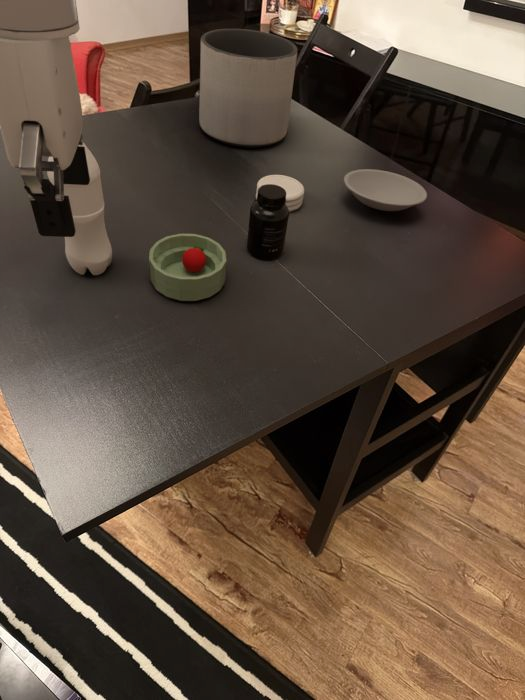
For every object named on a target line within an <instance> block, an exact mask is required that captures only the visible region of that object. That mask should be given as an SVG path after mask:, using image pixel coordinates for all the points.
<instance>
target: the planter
mask: <svg viewBox="0 0 525 700" xmlns="http://www.w3.org/2000/svg"><path fill="white" fill-rule="evenodd" d="M297 57H298V47H297V45H296V44H295V43H293V42H292V41H291V40H289V39H287V38H285V37H282V36H280V35H276V34H275V33H274V34H273V33H270V32H265V31H261V30H256V29H255V30H254V29H245V28H221V29H220V28H219V29H213V30H209V31H207V32H205V33H204V34H202V35H201V36H200V65H199V66H200V67H199V68H200V69H199V106H198V107H199V109H198V111H199V112H198V118H199V119H198V120H199V121H198V122H199V126H200V128H201V130H202V131H203V132H204V133H205V134H206V135H207V136H209V137H210V138H211V139H213V140H215V141H216V142H219V143H222V144H224V145H228V146H232V147H236V148H237V147H238V148H244V149H245V148H247V149H251V148H252V149H254V148H255V149H256V148H265V147H269V146H272V145H274V144H276V143H278V142H281V140H283V139H284V138H285V137H286V135H287V132H288V127H289V122H290V121H289V120H290V113H291V105H292V96H293V87H294V80H295V73H296V65H297Z"/></svg>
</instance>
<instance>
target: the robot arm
mask: <svg viewBox="0 0 525 700" xmlns="http://www.w3.org/2000/svg"><path fill="white" fill-rule="evenodd" d="M80 28H81V27H80V20H79V14H78V8H77V0H0V133H1V137H2V142H3V145H4V149H5V154H6V158H7V161H8V163H9V164H10V166H11V167H12V168H14V169H18V171H19V175H20V177H21V179H22V181H23V184H24V185H23V188H24V190H25V191H26V195H27V199H28V200H29V202H30V205H31V209H32V213H33V218H34V221H35V225H36V228H37V231H38V235H40V236H41V237H57V238H58V237H59V238H60V237H61V238H65V237H73V236H74V235H75V232H76V230H75V225H74V221H73V216H72V211H71V206H70V201H69V196H64V184H72V185H88V184H89V182H90V177H89V171H88V165H87V159H86V153H85V147H81V146H78V145H83V142H84V138H83V137H84V136H83V127H84V120H83V110H82V102H81V95H80V87H79V84H78V83H79V82H78V76H77V72H76V66H75V60H74V56H73V50H72V43H71V41H70V37H71V36H72V35H75V34H77V33H78V32H79V31H80V30H81V29H80ZM43 157H46V158H47V157H48V158H49V157H53V160H54V162H52V161H48V160H43ZM47 171H51V172H54V185H53V184H52V183H51V182H50V180H49V178H44V176H45V174H44V172H47Z"/></svg>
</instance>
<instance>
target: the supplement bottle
mask: <svg viewBox="0 0 525 700" xmlns="http://www.w3.org/2000/svg"><path fill="white" fill-rule="evenodd" d="M285 203H286V191H285V189H283V188H282V187H280V186H277V185H273V184H266V185H263V186H261V187H260V188H259V189H258V195H257V199H256V200H254V201H253V202H252V204H251V205H250V208H249V216H248V228H247V239H246V249H247V251H248V253H249V254H250V255H251V256H253V257H254V258H256V259H259V260H263V261H272V260H275V259H277V258H279V257H280V256H281V255H282V254H283V251H284V247H285V241H286V236H287V230H288V225H289V223H288V222H289V217H290V212H289V209H288V207H287V206H286V204H285Z"/></svg>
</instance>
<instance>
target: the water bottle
mask: <svg viewBox="0 0 525 700" xmlns="http://www.w3.org/2000/svg"><path fill="white" fill-rule="evenodd" d="M78 146H81V147H85V153H86V159H87V165H88V171H89V177H90V182H89V184H88V185H72V184H64V196H69V201H70V206H71V211H72V216H73V221H74V225H75V230H76V232H75V235H74V236H73V237H64V252H65V257H66V260H67V262H68V265H70V267H71V268H72V269H73V271H75V272H76V273H77V274H78V275H82V276H83V275H85V274H86V273H87V271H89V272H90V273H91V275H92V276H99V275H102V274H103V273H104V272H105V271H106V270H107V267H110V265H111V263H112V260H113V248H112V244H111V242H110V239H109V235H108V233H107V229H106V224H105V223H106V222H105V204H106V203H105V201H104V200H105V199H104V193H103V186H102V180H101V168H100V166H99V162H98V161H97V159H96V157H95V156H94V154H92V152H91V151H90V149H89V148H88V147H87V145H86V144H85V142H84V141H83V145H78ZM47 161H52V162H54V160H53V157H48V159H47ZM46 173H47V174H46V175H47V179H48V180H49V181H50V182H51V183H52V184H53V185H54V172H51V171H46Z"/></svg>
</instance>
